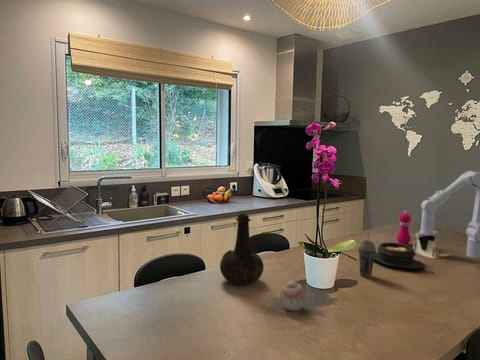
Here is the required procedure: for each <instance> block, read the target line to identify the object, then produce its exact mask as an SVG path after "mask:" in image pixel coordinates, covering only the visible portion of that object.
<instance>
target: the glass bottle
mask: <svg viewBox="0 0 480 360" xmlns="http://www.w3.org/2000/svg"><path fill="white" fill-rule="evenodd" d="M249 217H250V215H248V214H245V213H240V214H237V218H235V220H236V221H237V229H236V239H235V246H234V249H233V250H231V249H230V250H228V251H226V252H225V253H224V254H223V255H222V258H221V260H220V263H219V269H220V270H219V271H220V273H221V275H222V277H223V278H224V279H225V280H226V281H227V282H228V283H229V284H231V285H234V286H238V287H242V286H243V287H246V286H249V285H252V284H255V282H257V281H258V280H259V279H260V278H261V276H262V274H263V273H264V262H263V260H262V258H261V256H260V255H258V254H257V253H256V252H254V251H253V249H252V245H251V239H250V227H249V226H250V225H249V224H250V223H249V222H251V221H252V219H251V218H249Z"/></svg>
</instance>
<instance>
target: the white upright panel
mask: <svg viewBox="0 0 480 360" xmlns="http://www.w3.org/2000/svg"><path fill="white" fill-rule="evenodd" d="M416 240H417V248H416V251H417V252H420V253H423V254H426V255H429V256H433V255H434V247H435V246H436V241H428V244H427V249H426V251H424V250H422V249H421V244H420V241H419V239H418V238H417V237H416Z"/></svg>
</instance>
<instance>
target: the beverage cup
mask: <svg viewBox="0 0 480 360" xmlns="http://www.w3.org/2000/svg"><path fill="white" fill-rule="evenodd" d="M375 252H377V248H376V246H375V244H374V243H373V242H372V241H371V240H370V229H368V230H367V239H366V240H363V241H361V242H360V243H359V245H358V255H359V259H358V260H359V276H360V277H361V278H364V277H365V278H364V279H370V278H372V275H373V267H374V263H375V262H374V261H375V260H374V256H375Z"/></svg>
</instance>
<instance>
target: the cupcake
mask: <svg viewBox="0 0 480 360" xmlns="http://www.w3.org/2000/svg"><path fill="white" fill-rule="evenodd" d="M279 296H280V298H281V302H282V306H283V308H284V310H286V309H287V310H286V311H288V310H290V311H289V312H299V311H301V310H302V309H303V306H304V302H305V300H306V298H307V294H306V293H305V288H303V287H302V285H301V284H299V283H297V281H296V280H295V279H292V280H290V281H288V282H287V283H286V284H285V285H284V286H283V287H282V290H281V291H280V292H279ZM298 310H299V311H298Z"/></svg>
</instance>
